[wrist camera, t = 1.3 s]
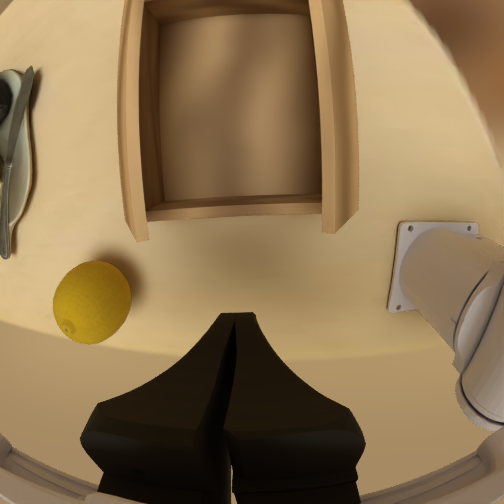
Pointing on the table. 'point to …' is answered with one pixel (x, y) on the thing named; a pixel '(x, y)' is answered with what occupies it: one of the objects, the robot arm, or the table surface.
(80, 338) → the lemon
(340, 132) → the panel
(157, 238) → the table surface
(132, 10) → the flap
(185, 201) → the carton
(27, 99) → the avocado toast plate
